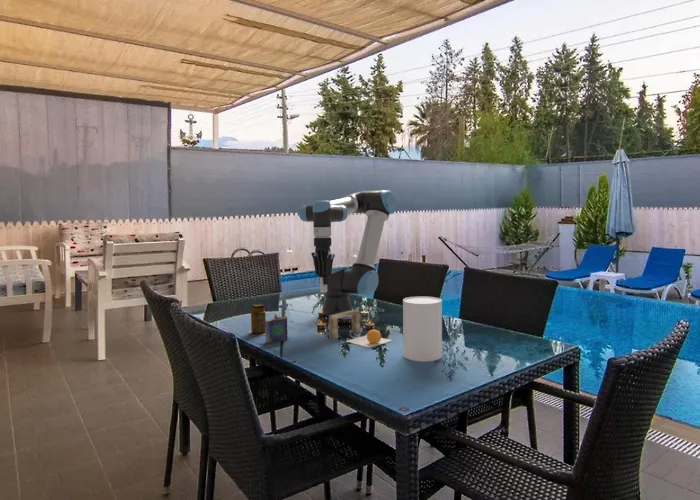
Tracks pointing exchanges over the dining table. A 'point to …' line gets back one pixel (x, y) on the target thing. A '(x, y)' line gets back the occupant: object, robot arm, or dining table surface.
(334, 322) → the bridge
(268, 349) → the dining table surface
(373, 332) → the ball
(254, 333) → the condiment
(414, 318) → the canister
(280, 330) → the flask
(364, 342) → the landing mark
